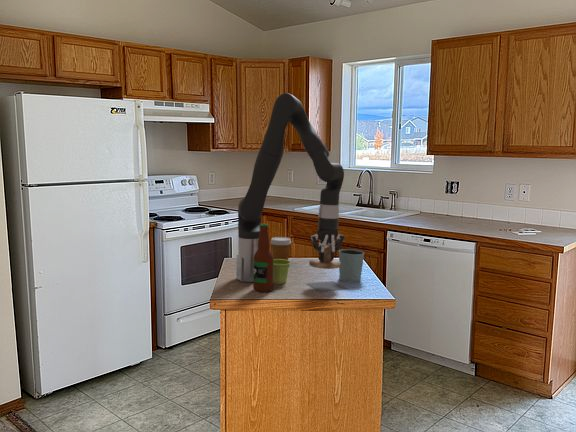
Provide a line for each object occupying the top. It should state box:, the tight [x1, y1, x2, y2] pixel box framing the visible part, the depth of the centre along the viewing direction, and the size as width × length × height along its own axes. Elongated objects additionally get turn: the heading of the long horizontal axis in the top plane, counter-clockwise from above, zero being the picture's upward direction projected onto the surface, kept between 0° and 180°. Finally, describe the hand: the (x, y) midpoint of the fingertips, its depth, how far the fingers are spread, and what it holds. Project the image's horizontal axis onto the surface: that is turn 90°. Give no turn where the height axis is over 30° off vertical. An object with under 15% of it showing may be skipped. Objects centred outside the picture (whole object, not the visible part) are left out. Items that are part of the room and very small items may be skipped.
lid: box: [308, 245, 341, 270], centre depth 198 cm, size 12×12×7 cm
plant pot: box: [273, 259, 292, 285], centre depth 205 cm, size 9×9×9 cm
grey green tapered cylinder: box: [338, 248, 365, 283], centre depth 211 cm, size 10×10×12 cm
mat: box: [306, 280, 348, 293], centre depth 200 cm, size 12×12×1 cm
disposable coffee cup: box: [269, 236, 292, 260], centre depth 235 cm, size 10×10×12 cm
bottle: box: [253, 223, 274, 293], centre depth 194 cm, size 7×7×25 cm
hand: (326, 261), depth 198 cm, fingers closed on lid, 3 cm apart
